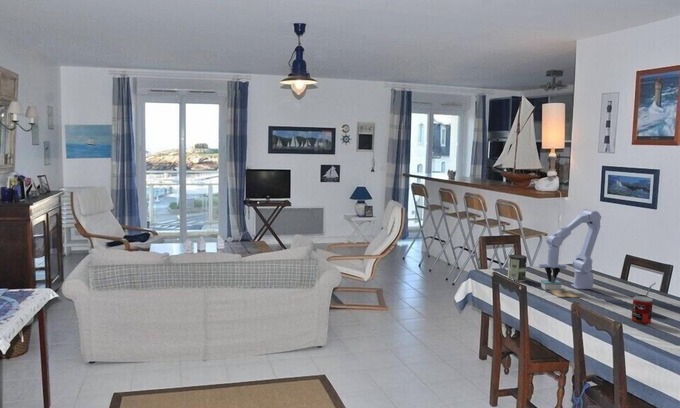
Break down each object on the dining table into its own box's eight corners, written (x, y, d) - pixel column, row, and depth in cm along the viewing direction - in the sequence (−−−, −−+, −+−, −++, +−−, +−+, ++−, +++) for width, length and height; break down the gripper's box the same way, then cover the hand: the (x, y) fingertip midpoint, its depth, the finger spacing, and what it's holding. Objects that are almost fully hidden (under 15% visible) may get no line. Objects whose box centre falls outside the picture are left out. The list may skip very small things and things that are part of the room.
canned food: (627, 318, 264) (629, 296, 263) (644, 318, 265) (646, 296, 263) (637, 324, 256) (639, 300, 255) (654, 324, 257) (656, 300, 256)
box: (557, 287, 318) (557, 281, 318) (561, 289, 312) (561, 284, 312) (541, 286, 318) (541, 281, 318) (544, 289, 313) (545, 284, 312)
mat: (571, 291, 309) (571, 290, 309) (580, 297, 297) (580, 296, 297) (549, 291, 310) (549, 290, 309) (557, 297, 298) (557, 296, 298)
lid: (557, 281, 318) (558, 275, 318) (562, 284, 312) (562, 278, 311) (540, 281, 318) (541, 274, 318) (544, 284, 312) (545, 277, 311)
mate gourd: (630, 311, 276) (632, 281, 274) (637, 308, 281) (640, 279, 279) (645, 315, 270) (648, 284, 268) (653, 312, 275) (656, 282, 273)
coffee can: (524, 278, 338) (526, 254, 336) (526, 282, 327) (528, 258, 326) (506, 276, 340) (508, 253, 338) (508, 281, 330) (509, 257, 328)
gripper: (542, 258, 309) (540, 282, 311) (569, 258, 309) (567, 283, 311) (538, 255, 316) (536, 279, 318) (564, 256, 316) (562, 279, 318)
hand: (551, 280), depth 315 cm, fingers closed on lid, 2 cm apart
